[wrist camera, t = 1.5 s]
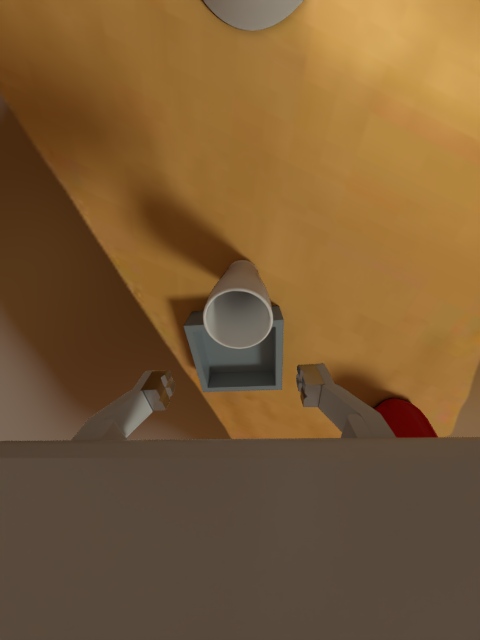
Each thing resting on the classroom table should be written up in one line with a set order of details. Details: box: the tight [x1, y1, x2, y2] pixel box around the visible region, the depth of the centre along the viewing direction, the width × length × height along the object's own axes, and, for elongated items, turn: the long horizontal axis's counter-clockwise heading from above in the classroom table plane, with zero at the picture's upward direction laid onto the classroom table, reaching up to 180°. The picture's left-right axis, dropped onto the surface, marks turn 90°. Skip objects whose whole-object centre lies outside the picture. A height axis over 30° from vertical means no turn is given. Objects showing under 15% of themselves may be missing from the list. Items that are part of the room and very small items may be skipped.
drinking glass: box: [203, 260, 273, 349], centre depth 23 cm, size 7×7×15 cm
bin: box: [184, 306, 284, 392], centre depth 35 cm, size 16×16×5 cm
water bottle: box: [374, 398, 438, 438], centre depth 34 cm, size 9×11×25 cm
